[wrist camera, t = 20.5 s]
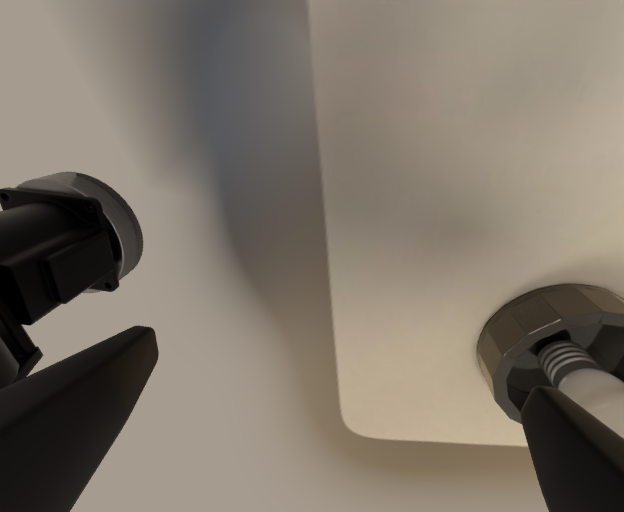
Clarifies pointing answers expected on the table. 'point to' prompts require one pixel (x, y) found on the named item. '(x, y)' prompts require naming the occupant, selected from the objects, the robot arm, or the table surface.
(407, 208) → the table surface
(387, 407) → the table surface
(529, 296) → the shallow faceted dish
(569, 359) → the lightbulb
